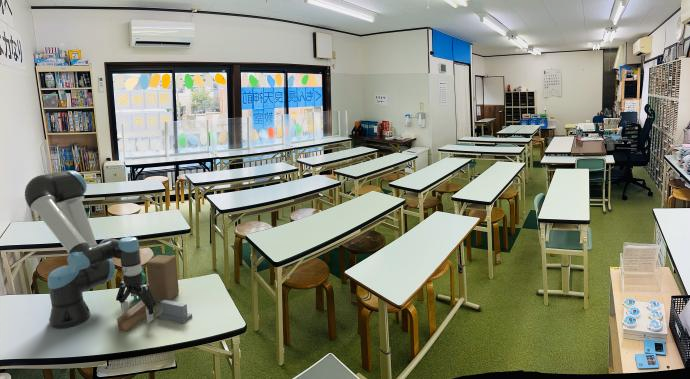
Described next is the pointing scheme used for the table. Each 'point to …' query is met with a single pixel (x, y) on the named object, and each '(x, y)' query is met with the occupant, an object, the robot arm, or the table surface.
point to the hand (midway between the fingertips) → (138, 318)
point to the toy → (142, 284)
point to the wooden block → (162, 277)
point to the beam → (132, 317)
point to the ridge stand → (174, 311)
